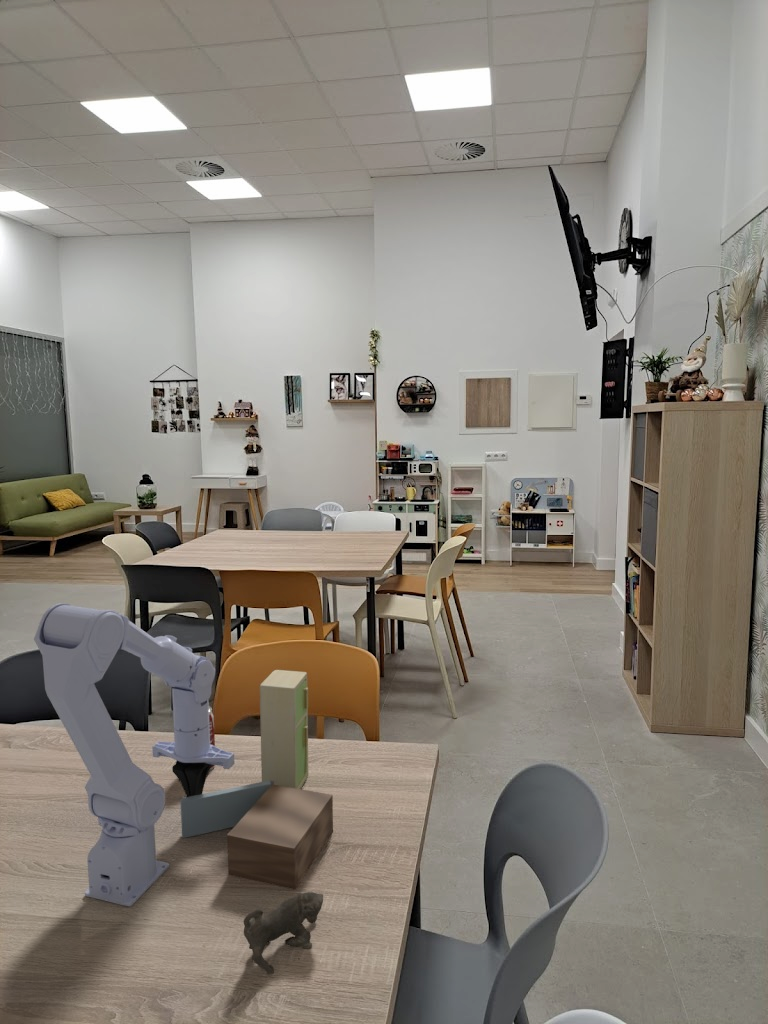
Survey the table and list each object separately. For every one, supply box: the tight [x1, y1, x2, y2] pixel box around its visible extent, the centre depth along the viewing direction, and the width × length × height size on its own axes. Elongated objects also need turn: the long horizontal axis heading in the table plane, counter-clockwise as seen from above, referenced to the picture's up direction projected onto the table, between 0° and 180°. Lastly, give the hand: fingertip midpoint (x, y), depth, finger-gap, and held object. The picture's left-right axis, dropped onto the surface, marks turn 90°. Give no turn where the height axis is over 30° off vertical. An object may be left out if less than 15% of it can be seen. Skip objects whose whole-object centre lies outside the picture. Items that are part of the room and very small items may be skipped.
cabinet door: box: [179, 781, 274, 839], centre depth 116 cm, size 16×2×6 cm, turn 113°
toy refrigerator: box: [259, 669, 309, 789], centre depth 128 cm, size 8×7×21 cm
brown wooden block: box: [226, 784, 334, 890], centre depth 109 cm, size 15×11×6 cm
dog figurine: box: [243, 891, 324, 975], centre depth 90 cm, size 12×6×7 cm, turn 128°
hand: (194, 800), depth 117 cm, fingers closed
